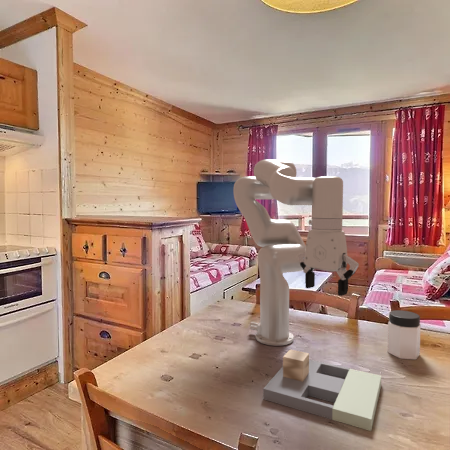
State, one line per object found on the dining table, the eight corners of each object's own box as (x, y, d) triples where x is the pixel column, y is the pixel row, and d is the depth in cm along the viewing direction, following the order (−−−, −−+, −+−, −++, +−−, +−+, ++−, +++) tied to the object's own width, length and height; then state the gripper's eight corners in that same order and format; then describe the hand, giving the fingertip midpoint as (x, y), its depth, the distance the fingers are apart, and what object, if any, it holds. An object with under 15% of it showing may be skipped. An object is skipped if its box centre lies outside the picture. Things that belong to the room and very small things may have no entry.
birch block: (283, 376, 85) (283, 356, 84) (289, 368, 89) (289, 349, 89) (303, 381, 82) (303, 361, 82) (308, 372, 87) (309, 353, 86)
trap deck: (263, 399, 79) (263, 388, 79) (291, 364, 97) (291, 355, 96) (371, 431, 68) (371, 418, 68) (381, 385, 85) (381, 375, 85)
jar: (392, 345, 109) (393, 308, 109) (421, 352, 104) (422, 313, 103) (384, 354, 103) (385, 315, 102) (415, 362, 97) (416, 321, 97)
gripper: (290, 224, 92) (290, 287, 94) (350, 227, 79) (348, 300, 80) (307, 223, 97) (306, 282, 98) (366, 226, 84) (364, 295, 85)
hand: (325, 290), depth 89 cm, fingers open, 9 cm apart
